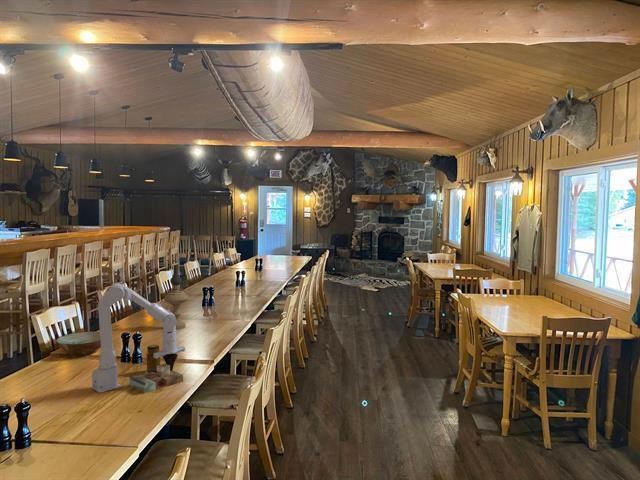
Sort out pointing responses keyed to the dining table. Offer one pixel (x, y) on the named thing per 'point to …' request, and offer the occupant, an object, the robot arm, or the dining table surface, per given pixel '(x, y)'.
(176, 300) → the oil lamp
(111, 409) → the dining table surface
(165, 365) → the block
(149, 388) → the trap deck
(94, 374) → the robot arm
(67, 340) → the bowl
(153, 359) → the condiment
